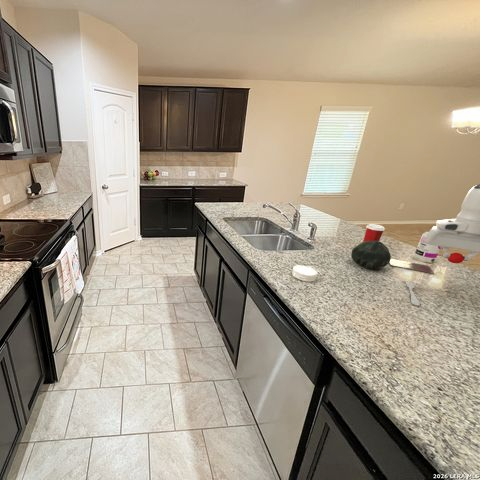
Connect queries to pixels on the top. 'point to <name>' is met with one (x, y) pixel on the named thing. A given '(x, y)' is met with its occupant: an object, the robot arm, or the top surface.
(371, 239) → the coffee cup
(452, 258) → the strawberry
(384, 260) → the squash
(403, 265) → the serving board
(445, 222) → the robot arm
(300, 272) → the coaster
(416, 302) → the fork
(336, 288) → the top surface
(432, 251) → the supplement can
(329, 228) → the top surface
